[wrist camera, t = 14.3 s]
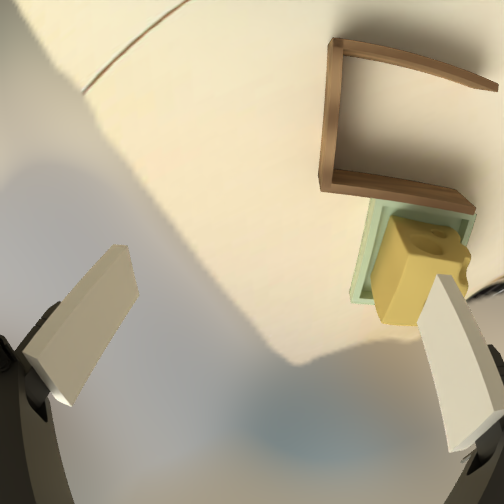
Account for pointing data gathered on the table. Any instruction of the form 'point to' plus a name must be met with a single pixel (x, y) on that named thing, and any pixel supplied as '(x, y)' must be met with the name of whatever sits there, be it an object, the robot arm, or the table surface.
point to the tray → (376, 229)
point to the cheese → (414, 267)
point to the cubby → (378, 184)
